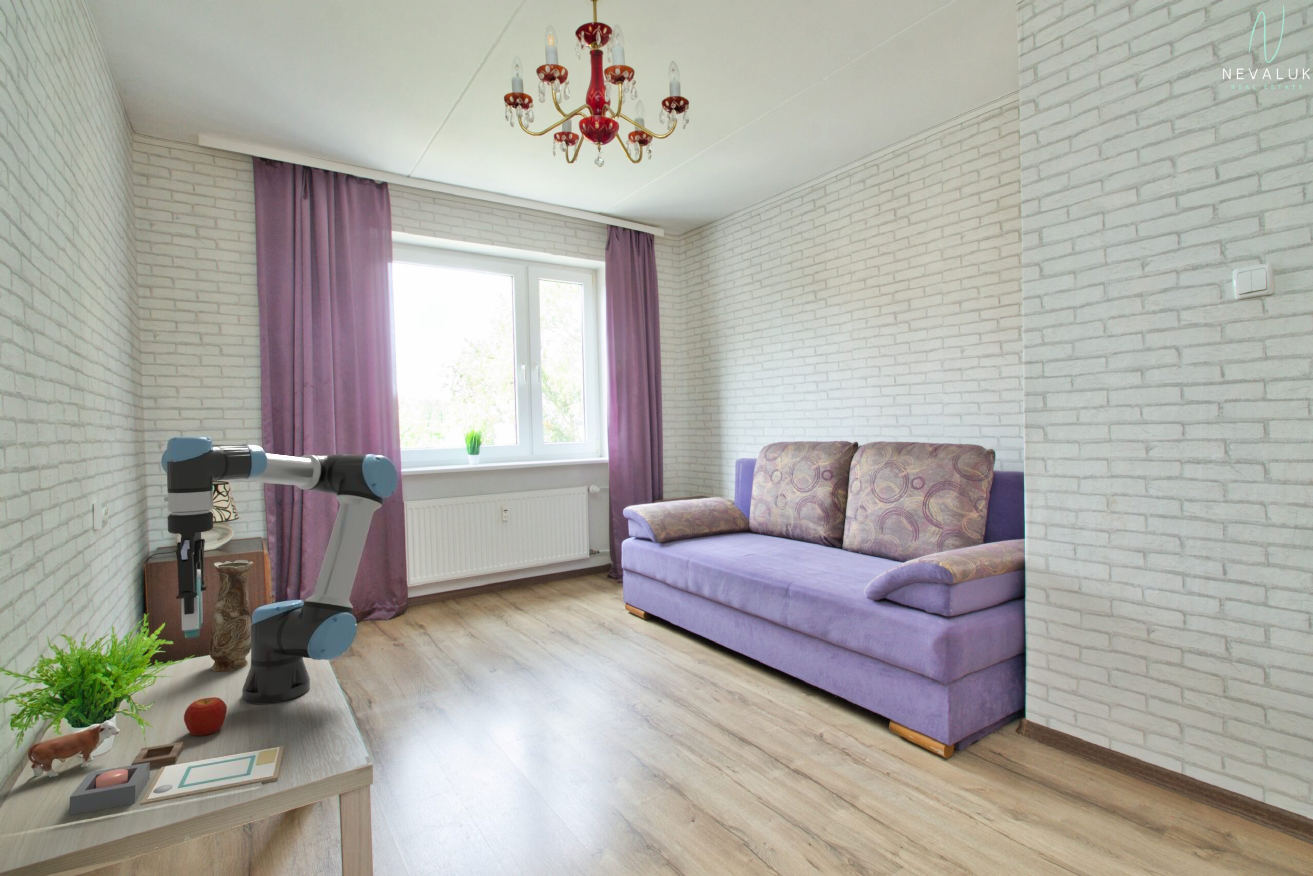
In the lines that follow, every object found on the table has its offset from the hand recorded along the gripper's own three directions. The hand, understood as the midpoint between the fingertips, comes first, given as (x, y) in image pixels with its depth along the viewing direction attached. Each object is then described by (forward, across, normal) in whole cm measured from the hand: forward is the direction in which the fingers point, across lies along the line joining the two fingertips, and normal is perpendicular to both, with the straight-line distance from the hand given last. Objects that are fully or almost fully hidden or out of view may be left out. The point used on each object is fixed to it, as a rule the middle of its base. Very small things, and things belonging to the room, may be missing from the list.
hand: (192, 626), depth 130 cm
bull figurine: (+27, -4, -20) cm, 34 cm away
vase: (+29, -60, -2) cm, 67 cm away
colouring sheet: (+27, +10, +6) cm, 30 cm away
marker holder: (+27, -1, -6) cm, 28 cm away
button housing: (+27, +12, -10) cm, 31 cm away
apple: (+28, -12, 0) cm, 30 cm away
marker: (+2, 0, 0) cm, 2 cm away
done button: (+26, +12, -10) cm, 30 cm away
